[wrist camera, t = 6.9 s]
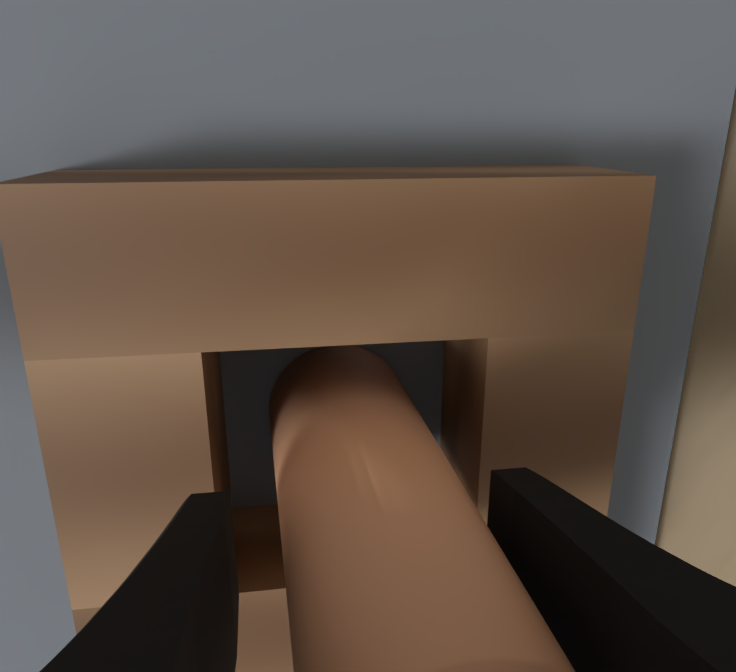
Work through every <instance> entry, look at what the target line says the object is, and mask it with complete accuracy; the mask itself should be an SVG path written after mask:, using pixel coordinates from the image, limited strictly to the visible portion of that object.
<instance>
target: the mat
mask: <svg viewBox="0 0 736 672" xmlns="http://www.w3.org/2000/svg"><path fill="white" fill-rule="evenodd" d="M735 88H736V0H0V182H2V181H7V180H12V179H16V178H21V177H25V176H30V175H34V174H39V173H44V172H48V171H53V170H121V169H218V168H314V167H411V166H508V165H584V166H591V167H598V168H606V169H613V170H620V171H627V172H635V173H642V174H649V175H656V182H655V189H654V196H653V203H652V210H651V217H650V224H649V230H648V237H647V244H646V251H645V258H644V265H643V272H642V279H641V286H640V292H639V299H638V306H637V313H636V320H635V327H634V334H633V341H632V348H631V354H630V361H629V368H628V375H627V382H626V389H625V396H624V403H623V410H622V416H621V423H620V430H619V437H618V444H617V451H616V458H615V465H614V471H613V478H612V485H611V492H610V499H609V506H608V513H607V517H608V518H610V519H612V520H613V521H615V522H617V523H618V524H620V525H621V526H623V527H625V528H626V529H628V530H630V531H632V532H633V533H635V534H637V535H638V536H640V537H642V538H644V539H645V540H647V541H649V542H650V543H652V544H654V545H655V539H656V534H657V528H658V523H659V517H660V511H661V506H662V500H663V494H664V489H665V483H666V477H667V472H668V466H669V460H670V455H671V449H672V444H673V438H674V432H675V427H676V421H677V415H678V410H679V404H680V398H681V393H682V387H683V382H684V376H685V370H686V365H687V359H688V353H689V348H690V342H691V336H692V331H693V325H694V319H695V314H696V308H697V303H698V297H699V291H700V286H701V280H702V274H703V269H704V263H705V257H706V252H707V246H708V241H709V235H710V229H711V224H712V218H713V212H714V207H715V201H716V195H717V190H718V184H719V178H720V173H721V167H722V162H723V156H724V150H725V145H726V139H727V133H728V128H729V122H730V116H731V111H732V105H733V100H734V94H735ZM355 346H360V347H363V348H366V349H368V350H370V351H372V352H374V353H376V354H377V355H379V356H380V357H381V358H383V359H384V360H385V361H386V362H387V363H388V364H389V365H390V367H391V368H392V369H393V371H394V372H395V374H396V376H397V377H398V379H399V381H400V382H401V384H402V386H403V387H404V389H405V390H406V392H407V394H408V395H409V397H410V399H411V400H412V402H413V404H414V405H415V407H416V409H417V410H418V412H419V414H420V415H421V417H422V419H423V420H424V422H425V424H426V425H427V427H428V429H429V430H430V432H431V433H432V435H433V437H434V438H435V440H436V442H437V443H438V445H439V447H440V432H441V408H442V384H443V360H444V340H442V341H422V342H402V343H381V344H361V345H355ZM321 347H322V346H321ZM315 348H318V347H301V348H280V349H260V350H240V351H220V364H221V376H222V388H223V400H224V412H225V424H226V436H227V448H228V460H229V472H230V485H231V497H232V508H241V507H253V506H265V505H277V504H278V501H277V491H276V480H275V470H274V459H273V449H272V438H271V428H270V417H269V404H270V398H271V393H272V390H273V388H274V385H275V383H276V381H277V380H278V378H279V376H280V375H281V374H282V372H283V371H284V370H285V369H286V368H287V366H288V365H289V364H290V363H292V362H293V361H294V360H295V359H297V358H298V357H299V356H301V355H303V354H304V353H306V352H308V351H310V350H313V349H315ZM75 636H76V629H75V624H74V619H73V614H72V609H71V603H70V598H69V593H68V588H67V583H66V577H65V572H64V567H63V562H62V557H61V551H60V546H59V541H58V536H57V531H56V525H55V520H54V515H53V510H52V505H51V499H50V494H49V489H48V484H47V479H46V473H45V468H44V463H43V458H42V453H41V447H40V442H39V437H38V432H37V427H36V421H35V416H34V411H33V406H32V401H31V395H30V390H29V385H28V380H27V375H26V369H25V364H24V359H23V354H22V349H21V343H20V338H19V333H18V328H17V323H16V317H15V312H14V307H13V302H12V297H11V291H10V286H9V281H8V276H7V271H6V265H5V260H4V255H3V250H2V245H1V239H0V672H39V671H40V670H42V669H43V668H44V667H45V666H46V665H47V664H48V663H49V662H50V661H51V660H52V659H53V658H54V657H55V656H56V655H57V654H58V653H59V652H60V651H61V650H62V649H63V648H64V647H65V646H66V645H67V644H68V643H69V642H70V641H71V640H72V639H73V638H74V637H75Z"/></svg>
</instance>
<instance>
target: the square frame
mask: <svg viewBox="0 0 736 672" xmlns="http://www.w3.org/2000/svg"><path fill="white" fill-rule="evenodd" d="M655 182H656V175H649V174H642V173H635V172H627V171H620V170H613V169H606V168H598V167H591V166H584V165H508V166H411V167H314V168H218V169H121V170H53V171H48V172H44V173H39V174H34V175H30V176H25V177H21V178H16V179H12V180H7V181H2V182H0V239H1V245H2V250H3V255H4V260H5V265H6V271H7V276H8V281H9V286H10V291H11V297H12V302H13V307H14V312H15V317H16V323H17V328H18V333H19V338H20V343H21V349H22V354H23V359H24V364H25V369H26V375H27V380H28V385H29V390H30V395H31V401H32V406H33V411H34V416H35V421H36V427H37V432H38V437H39V442H40V447H41V453H42V458H43V463H44V468H45V473H46V479H47V484H48V489H49V494H50V499H51V505H52V510H53V515H54V520H55V525H56V531H57V536H58V541H59V546H60V551H61V557H62V562H63V567H64V572H65V577H66V583H67V588H68V593H69V598H70V603H71V609H72V614H73V619H74V624H75V629H76V635H77V633H78V632H79V631H80V630H81V629H82V628H83V627H84V626H85V625H86V624H87V623H88V622H89V620H90V619H91V618H92V617H93V616H94V615H95V614H96V613H97V611H98V610H99V609H100V608H101V607H102V606H103V605H104V604H105V602H106V601H107V600H108V599H109V598H110V597H111V596H112V595H113V593H114V592H115V591H116V590H117V589H118V588H119V587H120V585H121V584H122V583H123V582H124V581H125V579H126V578H127V577H128V576H129V574H130V573H131V572H132V571H133V569H134V568H135V567H136V566H137V564H138V563H139V562H140V561H141V559H142V558H143V557H144V556H145V554H146V553H147V552H148V551H149V549H150V548H151V547H152V545H153V544H154V543H155V541H156V540H157V539H158V537H159V536H160V535H161V533H162V532H163V531H164V529H165V528H166V526H167V525H168V524H169V522H170V521H171V519H172V518H173V517H174V515H175V514H176V512H177V511H178V509H179V508H180V506H181V505H182V504H183V502H184V501H185V500H186V499H187V498H188V497H189V496H190V495H191V494H195V493H208V492H220V491H230V493H231V485H230V472H229V460H228V448H227V436H226V424H225V412H224V400H223V388H222V376H221V364H220V351H240V350H260V349H280V348H301V347H321V346H341V345H361V344H381V343H402V342H422V341H442V340H444V360H443V384H442V408H441V432H440V448H441V450H442V452H443V453H444V455H445V457H446V458H447V460H448V462H449V463H450V465H451V467H452V468H453V470H454V472H455V473H456V475H457V476H458V478H459V480H460V481H461V483H462V485H463V486H464V488H465V490H466V491H467V493H468V495H469V496H470V498H471V500H472V501H473V503H474V505H475V506H476V508H477V510H478V511H479V513H480V515H481V516H482V518H483V519H484V521H485V523H486V524H487V518H488V504H489V490H490V476H491V470H497V469H510V468H522V467H526V468H528V469H530V470H532V471H534V472H536V473H537V474H539V475H541V476H543V477H544V478H546V479H548V480H549V481H551V482H552V483H554V484H556V485H557V486H559V487H560V488H562V489H564V490H565V491H567V492H568V493H570V494H572V495H573V496H575V497H576V498H578V499H579V500H581V501H583V502H584V503H586V504H587V505H589V506H591V507H592V508H594V509H595V510H597V511H599V512H600V513H602V514H603V515H605V516H607V513H608V506H609V499H610V492H611V485H612V478H613V471H614V465H615V458H616V451H617V444H618V437H619V430H620V423H621V416H622V410H623V403H624V396H625V389H626V382H627V375H628V368H629V361H630V354H631V348H632V341H633V334H634V327H635V320H636V313H637V306H638V299H639V292H640V286H641V279H642V272H643V265H644V258H645V251H646V244H647V237H648V230H649V224H650V217H651V210H652V203H653V196H654V189H655ZM231 505H232V497H231ZM232 517H233V529H234V541H235V553H236V565H237V577H238V589H239V614H238V644H237V661H236V668H235V672H294V669H293V658H292V648H291V638H290V627H289V617H288V606H287V596H286V585H285V575H284V564H283V554H282V543H281V533H280V522H279V512H278V504H277V505H265V506H253V507H241V508H232Z"/></svg>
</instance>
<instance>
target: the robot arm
mask: <svg viewBox="0 0 736 672" xmlns="http://www.w3.org/2000/svg"><path fill="white" fill-rule="evenodd" d="M487 526H488V528H489V529H490V531H491V533H492V534H493V536H494V538H495V539H496V541H497V543H498V544H499V546H500V548H501V549H502V551H503V553H504V554H505V556H506V558H507V559H508V561H509V562H510V564H511V566H512V567H513V569H514V571H515V572H516V574H517V576H518V577H519V579H520V581H521V582H522V584H523V586H524V587H525V589H526V591H527V592H528V594H529V596H530V597H531V599H532V601H533V602H534V604H535V605H536V607H537V609H538V610H539V612H540V614H541V615H542V617H543V619H544V620H545V622H546V624H547V625H548V627H549V629H550V630H551V632H552V634H553V635H554V637H555V639H556V640H557V642H558V644H559V645H560V647H561V649H562V650H563V652H564V653H565V655H566V657H567V658H568V660H569V662H570V663H571V665H572V667H573V668H574V670H575V672H736V587H735V586H733V585H731V584H728V583H726V582H724V581H722V580H720V579H718V578H716V577H714V576H712V575H710V574H708V573H706V572H704V571H702V570H700V569H698V568H696V567H694V566H692V565H690V564H689V563H687V562H685V561H683V560H681V559H679V558H678V557H676V556H674V555H672V554H670V553H668V552H667V551H665V550H663V549H661V548H659V547H657V546H656V545H654V544H652V543H650V542H649V541H647V540H645V539H644V538H642V537H640V536H638V535H637V534H635V533H633V532H632V531H630V530H628V529H626V528H625V527H623V526H621V525H620V524H618V523H617V522H615V521H613V520H612V519H610V518H608V517H607V516H605V515H603V514H602V513H600V512H599V511H597V510H595V509H594V508H592V507H591V506H589V505H587V504H586V503H584V502H583V501H581V500H579V499H578V498H576V497H575V496H573V495H572V494H570V493H568V492H567V491H565V490H564V489H562V488H560V487H559V486H557V485H556V484H554V483H552V482H551V481H549V480H548V479H546V478H544V477H543V476H541V475H539V474H537V473H536V472H534V471H532V470H530V469H528V468H526V467H522V468H510V469H497V470H491V476H490V490H489V504H488V518H487ZM238 614H239V589H238V577H237V565H236V553H235V541H234V529H233V517H232V505H231V493H230V491H220V492H208V493H195V494H191V495H190V496H189V497H188V498H187V499H186V500H185V501H184V502H183V504H182V505H181V506H180V508H179V509H178V511H177V512H176V514H175V515H174V517H173V518H172V519H171V521H170V522H169V524H168V525H167V526H166V528H165V529H164V531H163V532H162V533H161V535H160V536H159V537H158V539H157V540H156V541H155V543H154V544H153V545H152V547H151V548H150V549H149V551H148V552H147V553H146V554H145V556H144V557H143V558H142V559H141V561H140V562H139V563H138V564H137V566H136V567H135V568H134V569H133V571H132V572H131V573H130V574H129V576H128V577H127V578H126V579H125V581H124V582H123V583H122V584H121V585H120V587H119V588H118V589H117V590H116V591H115V592H114V593H113V595H112V596H111V597H110V598H109V599H108V600H107V601H106V602H105V604H104V605H103V606H102V607H101V608H100V609H99V610H98V611H97V613H96V614H95V615H94V616H93V617H92V618H91V619H90V620H89V622H88V623H87V624H86V625H85V626H84V627H83V628H82V629H81V630H80V631H79V632H78V633H77V635H76V636H75V637H74V638H73V639H72V640H71V641H70V642H69V643H68V644H67V645H66V646H65V647H64V648H63V649H62V650H61V651H60V652H59V653H58V654H57V655H56V656H55V657H54V658H53V659H52V660H51V661H50V662H49V663H48V664H47V665H46V666H45V667H44V668H43V669H42V670H40V671H39V672H235V668H236V661H237V644H238Z"/></svg>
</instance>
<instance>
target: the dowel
mask: <svg viewBox="0 0 736 672" xmlns="http://www.w3.org/2000/svg"><path fill="white" fill-rule="evenodd" d="M269 417H270V428H271V438H272V449H273V459H274V470H275V480H276V491H277V501H278V512H279V522H280V533H281V543H282V554H283V564H284V575H285V585H286V596H287V606H288V617H289V627H290V638H291V648H292V658H293V669H294V672H575V670H574V668H573V667H572V665H571V663H570V662H569V660H568V658H567V657H566V655H565V653H564V652H563V650H562V649H561V647H560V645H559V644H558V642H557V640H556V639H555V637H554V635H553V634H552V632H551V630H550V629H549V627H548V625H547V624H546V622H545V620H544V619H543V617H542V615H541V614H540V612H539V610H538V609H537V607H536V605H535V604H534V602H533V601H532V599H531V597H530V596H529V594H528V592H527V591H526V589H525V587H524V586H523V584H522V582H521V581H520V579H519V577H518V576H517V574H516V572H515V571H514V569H513V567H512V566H511V564H510V562H509V561H508V559H507V558H506V556H505V554H504V553H503V551H502V549H501V548H500V546H499V544H498V543H497V541H496V539H495V538H494V536H493V534H492V533H491V531H490V529H489V528H488V526H487V524H486V523H485V521H484V519H483V518H482V516H481V515H480V513H479V511H478V510H477V508H476V506H475V505H474V503H473V501H472V500H471V498H470V496H469V495H468V493H467V491H466V490H465V488H464V486H463V485H462V483H461V481H460V480H459V478H458V476H457V475H456V473H455V472H454V470H453V468H452V467H451V465H450V463H449V462H448V460H447V458H446V457H445V455H444V453H443V452H442V450H441V448H440V447H439V445H438V443H437V442H436V440H435V438H434V437H433V435H432V433H431V432H430V430H429V429H428V427H427V425H426V424H425V422H424V420H423V419H422V417H421V415H420V414H419V412H418V410H417V409H416V407H415V405H414V404H413V402H412V400H411V399H410V397H409V395H408V394H407V392H406V390H405V389H404V387H403V386H402V384H401V382H400V381H399V379H398V377H397V376H396V374H395V372H394V371H393V369H392V368H391V367H390V365H389V364H388V363H387V362H386V361H385V360H384V359H383V358H381V357H380V356H379V355H377V354H376V353H374V352H372V351H370V350H368V349H366V348H363V347H360V346H355V345H341V346H322V347H318V348H315V349H313V350H310V351H308V352H306V353H304V354H303V355H301V356H299V357H298V358H297V359H295V360H294V361H293V362H292V363H290V364H289V365H288V366H287V368H286V369H285V370H284V371H283V372H282V374H281V375H280V376H279V378H278V380H277V381H276V383H275V385H274V388H273V390H272V393H271V398H270V404H269Z"/></svg>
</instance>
